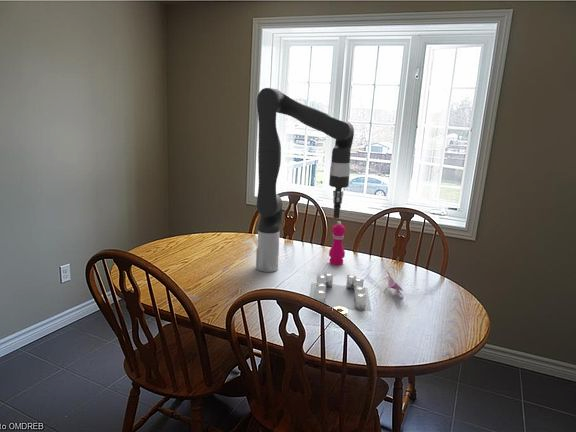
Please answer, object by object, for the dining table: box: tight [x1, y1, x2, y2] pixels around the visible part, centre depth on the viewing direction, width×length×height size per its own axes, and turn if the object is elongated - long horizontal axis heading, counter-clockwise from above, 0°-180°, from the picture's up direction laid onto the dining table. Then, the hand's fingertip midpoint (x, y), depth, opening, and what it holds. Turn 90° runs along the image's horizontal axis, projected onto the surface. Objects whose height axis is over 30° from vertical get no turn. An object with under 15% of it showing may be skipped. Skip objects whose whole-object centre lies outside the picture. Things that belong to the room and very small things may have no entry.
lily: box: [383, 268, 404, 298], centre depth 157 cm, size 12×12×10 cm
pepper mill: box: [328, 220, 346, 266], centre depth 187 cm, size 7×7×20 cm
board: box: [305, 282, 372, 332], centre depth 146 cm, size 22×32×1 cm
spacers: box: [315, 272, 366, 312], centre depth 151 cm, size 18×21×5 cm
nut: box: [334, 307, 348, 317], centre depth 136 cm, size 5×5×2 cm
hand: (336, 217), depth 162 cm, fingers closed
